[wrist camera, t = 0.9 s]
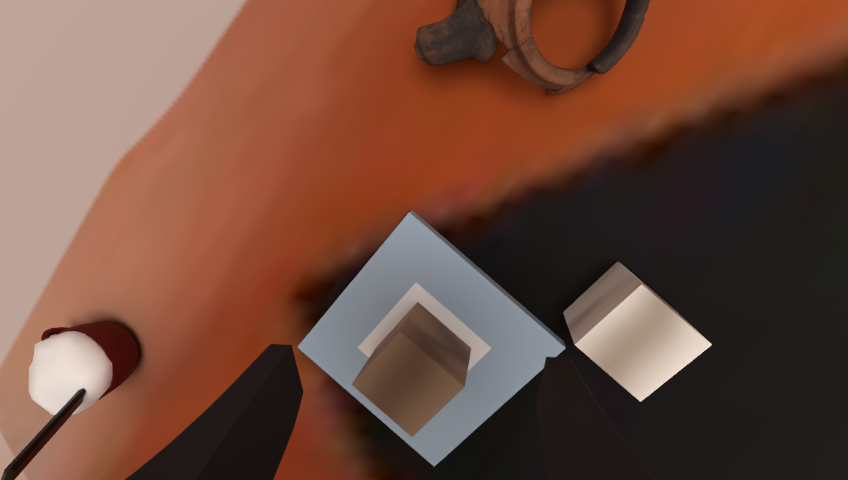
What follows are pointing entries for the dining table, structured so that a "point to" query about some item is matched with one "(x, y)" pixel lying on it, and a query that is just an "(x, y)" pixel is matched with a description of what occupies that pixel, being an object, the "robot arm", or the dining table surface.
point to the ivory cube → (632, 332)
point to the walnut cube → (415, 370)
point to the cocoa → (74, 376)
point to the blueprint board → (452, 305)
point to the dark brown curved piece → (517, 41)
